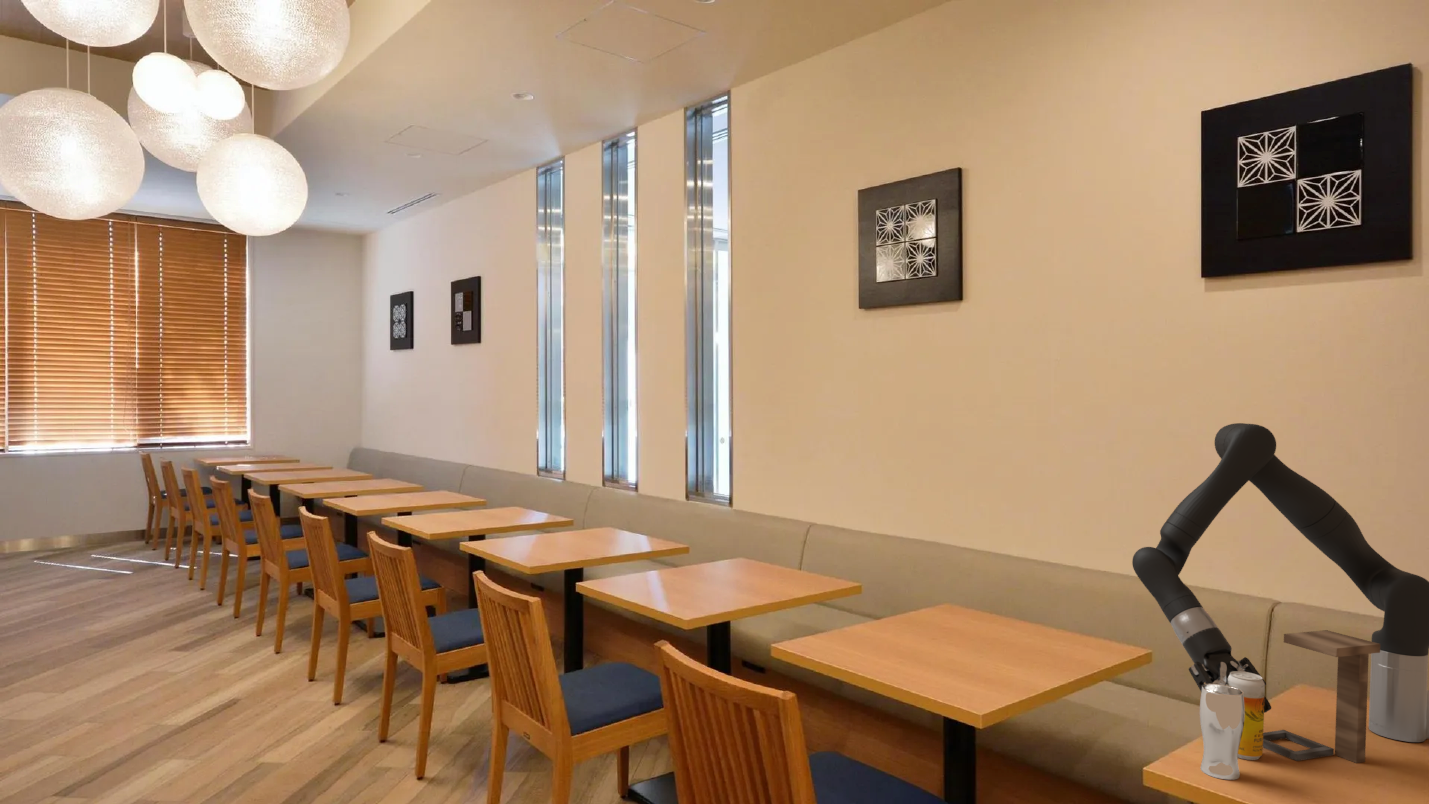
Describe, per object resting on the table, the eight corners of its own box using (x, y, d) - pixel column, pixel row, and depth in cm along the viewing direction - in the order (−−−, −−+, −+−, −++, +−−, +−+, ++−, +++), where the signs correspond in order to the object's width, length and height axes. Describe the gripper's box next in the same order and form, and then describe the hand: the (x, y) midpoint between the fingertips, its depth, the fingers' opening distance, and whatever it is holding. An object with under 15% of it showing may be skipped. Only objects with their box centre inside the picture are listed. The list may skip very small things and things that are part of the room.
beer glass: (1239, 784, 153) (1242, 698, 153) (1194, 773, 158) (1197, 689, 158) (1244, 772, 159) (1247, 688, 159) (1201, 761, 163) (1203, 680, 163)
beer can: (1262, 764, 163) (1265, 682, 163) (1224, 756, 166) (1226, 676, 166) (1262, 753, 168) (1265, 674, 168) (1225, 745, 171) (1228, 668, 171)
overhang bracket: (1293, 734, 179) (1296, 622, 179) (1376, 765, 164) (1380, 643, 164) (1247, 741, 174) (1251, 626, 174) (1328, 774, 159) (1332, 648, 159)
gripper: (1184, 628, 172) (1236, 707, 161) (1238, 624, 177) (1291, 700, 166) (1161, 648, 177) (1209, 725, 166) (1214, 643, 182) (1264, 718, 171)
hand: (1250, 713), depth 166 cm, fingers open, 8 cm apart
